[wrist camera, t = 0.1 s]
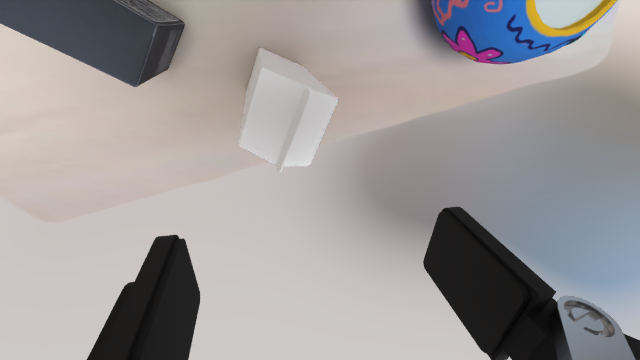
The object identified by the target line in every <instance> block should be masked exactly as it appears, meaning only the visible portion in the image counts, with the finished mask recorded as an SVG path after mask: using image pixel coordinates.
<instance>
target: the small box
mask: <svg viewBox="0 0 640 360" xmlns="http://www.w3.org/2000/svg"><path fill="white" fill-rule="evenodd" d="M0 23H1V24H3V25H5V26H7V27H9V28H11V29H13V30H15V31H18V32H20V33H22V34H24V35H26V36H28V37H30V38H33V39H35V40H37V41H39V42H41V43H43V44H45V45H47V46H50V47H52V48H54V49H56V50H58V51H60V52H62V53H64V54H66V55H69V56H71V57H73V58H75V59H77V60H79V61H81V62H83V63H85V64H87V65H90V66H92V67H94V68H96V69H98V70H100V71H102V72H104V73H106V74H108V75H111V76H113V77H115V78H117V79H119V80H121V81H123V82H125V83H127V84H129V85H131V86H133V87H137V86H139V85H140V84H142V83H144V82H145V81H147V80H149V79H151V78H153V77H155V76H156V75H158V74H160V73H162V72H164V71H166V70H168V68H169V65H170V63H171V60H172V57H173V55H174V52H175V50H176V47H177V44H178V42H179V39H180V37H181V34H182V31H183V29H184V26H185V24H184V22H182V21H181V20H179V19H177V18H176V17H174V16H173V15H171V14H169V13H168V12H166V11H165V10H163V9H161V8H160V7H158V6H156V5H155V4H154V3H152V2H150V1H148V0H0Z"/></svg>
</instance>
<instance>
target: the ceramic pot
mask: <svg viewBox="0 0 640 360" xmlns="http://www.w3.org/2000/svg"><path fill="white" fill-rule="evenodd" d="M616 1H617V0H431V4H432V8H433V12H434V16H435V21H436V24H437V27H438V30H439V31H440V33H441V34H442V35H443V37H444V38H445V39H446V41H447V42H448V44H449V45H450V46H451V47H452V48H453V49H454V50H455V51H457V52H459V53H460V54H462V55H464V56H466V57H468V58H469V59H471V60H473V61H476V62H481V63H491V64H509V63H516V62H521V61H524V60H528V59H531V58H534V57H538V56H541V55H545V54H548V53H551V52H553V51H555V50H557V49H559V48H561V47H563V46H565V45H568V44H571V43H573V42H575V41H576V40H578V39H579V38H580V37H582V36H583V35H584V34H585V33H586V32H587V30H589V29H590V28H591V27H592V26H593V25H594V24H595V23H596V22H597V21H598V20H600V19H601V18H602V17H603V16H604V15H605V14H606V13H607V12H608V11H609V10H610V9H611V8H612V7H613V5H614V4H615V3H616Z"/></svg>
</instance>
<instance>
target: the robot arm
mask: <svg viewBox="0 0 640 360" xmlns="http://www.w3.org/2000/svg"><path fill="white" fill-rule="evenodd" d="M423 262H424V267H425V269H426V271H427V273H428V274H429V275H430V277H431V278H432V280H433V281H434V283H435V284H436V285H437V287H438V288H439V290H440V291H441V293H442V294H443V296H444V297H445V299H446V300H447V301H448V303H449V304H450V306H451V307H452V309H453V310H454V311H455V313H456V314H457V316H458V317H459V319H460V320H461V322H462V323H463V325H464V326H465V327H466V329H467V330H468V332H469V333H470V335H471V336H472V338H473V339H474V340H475V342H476V343H477V345H478V346H479V348H480V349H481V350H482V351H483V352H484V353H487V354H488V356H489V357H490V359H491V360H507V359H508V357H509V356H510V358H511V359H512V360H640V340H637V339H635V338H632V337H630V336H627V335H625V334H623V332H622V330H621V328H620V327H619V325H618V324H617V322H616V321H615V320H614V319H613V318H612V317H611V316H610V315H608V314H607V313H606V312H605V311H603V310H602V309H601V308H599V307H597V306H596V305H594V304H592V303H590V302H588V301H586V300H583V299H581V298H577V297H573V296H564V297H560V298H559V300H558V301H557V302H556V301H555V300H554V299H553V298H552V297H553V296H554V294H555V293H556V291H554V290H553V289H552V288H551V287H550V286H549V285H548V284H546V283H545V282H544V281H543V280H542V279H541V278H540V277H539V276H538V275H536V274H535V273H534V272H533V271H532V270H531V269H530V268H529V267H527V266H526V265H525V264H524V263H523V262H522V261H521V260H520V259H518V258H517V257H516V256H515V255H514V254H513V253H512V252H510V251H509V250H508V249H507V248H506V247H505V246H504V245H503V244H501V243H500V242H499V241H498V240H497V239H496V238H495V237H494V236H493V235H491V234H490V233H489V232H488V231H487V230H486V229H485V228H483V226H481V225H480V224H479V223H478V222H477V221H476V220H475V219H474V218H472V217H471V216H470V215H469V214H468V213H467V212H466V211H464V210H463V209H462V208H461V207H451V208H444V209H443V210H442V212H440V213H439V215H438V218H437V221H436V224H435V227H434V230H433V233H432V236H431V239H430V242H429V245H428V248H427V252H426V254H425V258H424V261H423ZM199 304H200V291H199V288H198V284H197V281H196V277H195V274H194V270H193V266H192V263H191V259H190V256H189V252H188V249H187V245H186V242H185V240H184V239H179V237H178V236H177V235H170V236H159V237H156V239H155V240H154V242H153V244H152V246H151V248H150V251H149V253H148V255H147V257H146V259H145V261H144V263H143V265H142V267H141V270H140V272H139V274H138V276H137V278H136V280H135V282H130V283H128V284H127V285H125V287H124V289H123V290H122V292H121V294H120V296H119V297H118V299H117V301H116V303H115V305H114V307H113V309H112V311H111V313H110V315H109V317H108V319H107V321H106V323H105V325H104V327H103V329H102V331H101V333H100V335H99V337H98V339H97V341H96V343H95V345H94V347H93V349H92V351H91V353H90V355H89V357H88V359H87V360H188V358H189V353H190V348H191V342H192V338H193V334H194V329H195V324H196V319H197V314H198V309H199Z"/></svg>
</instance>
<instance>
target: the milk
mask: <svg viewBox="0 0 640 360" xmlns="http://www.w3.org/2000/svg"><path fill="white" fill-rule="evenodd" d="M338 100H339V98H338V97H337V96H335V95H334V94H333V93H332V92H331V91H330V90H329V89H328V88H326V87H325V86H324V85H323V84H322V83H321V82H320V81H319V80H317V79H316V78H315V77H314V76H313V75H312V74H311V73H310V72H309V71H307V70H306V69H305V68H304V67H303V66H301V65H299V64H297V63H295V62H292V61H290V60H288V59H286V58H283V57H281V56H279V55H276V54H274V53H272V52H270V51H267V50H265V49H263V48H260V47H259V50H258V53H257V57H256V60H255V64H254V67H253V70H252V74H251V77H250V81H249V84H248V88H247V91H246V97H245V104H244V110H243V117H242V123H241V130H240V137H239V143H238V145H239V146H241V147H242V148H244V149H246V150H248V151H250V152H252V153H253V154H255V155H257V156H259V157H261V158H263V159H265V160H267V161H268V162H270V163H272V164H274V165H276V166H277V172H278V174H280V172H281V170H282V168H283V166H310V164H311V162H312V160H313V157H314V155H315V153H316V150H317V148H318V146H319V144H320V141H321V139H322V137H323V135H324V132H325V130H326V128H327V125H328V123H329V121H330V119H331V116H332V114H333V112H334V110H335V107H336V105H337V103H338Z"/></svg>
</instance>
